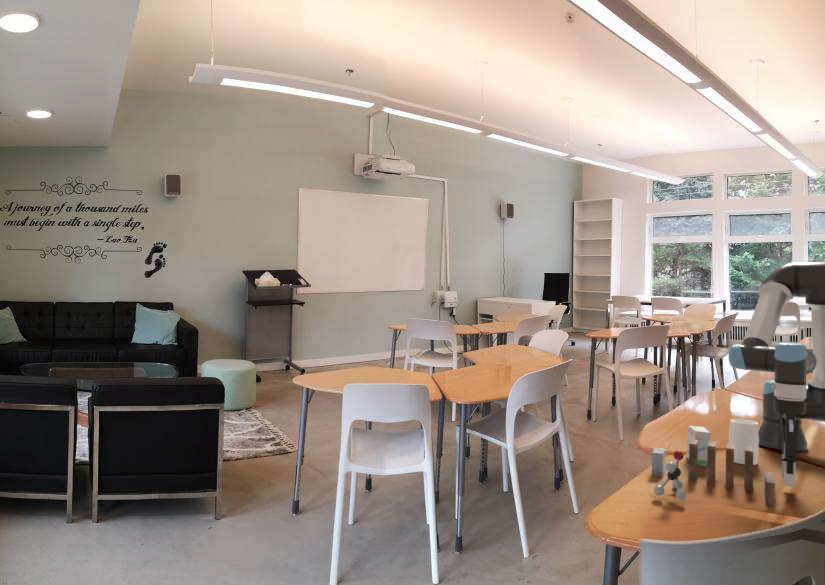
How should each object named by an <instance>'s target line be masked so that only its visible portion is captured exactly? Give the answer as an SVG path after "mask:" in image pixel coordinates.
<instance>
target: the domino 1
mask: <svg viewBox="0 0 825 585" xmlns="http://www.w3.org/2000/svg"><path fill="white" fill-rule="evenodd" d="M698 467H699V466H698V440H692V439H691V440H690V443H689V460H688V482H694V483H696V482H697V481H698V469H699V468H698Z"/></svg>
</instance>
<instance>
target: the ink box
mask: <svg viewBox="0 0 825 585" xmlns="http://www.w3.org/2000/svg"><path fill="white" fill-rule="evenodd" d="M687 428H688V429H687V440H686V442H687V444H686V445H687V446H686V459H687V460H688V461H689V443H690V440H691V439H692V440H698V467H704V466H705V467H706V468H707V451H708V442H711V440H712V439H711V438H712V437H711V435H712V434H711V432H710V430H708V429H707V428H706V427H704V426H696V425H688V426H687Z"/></svg>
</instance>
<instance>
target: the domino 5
mask: <svg viewBox="0 0 825 585" xmlns="http://www.w3.org/2000/svg"><path fill="white" fill-rule="evenodd" d="M764 499H765V501H764V502H765V505H766V506H772V507H776V480H775V475H774V472H771V471H764Z"/></svg>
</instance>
